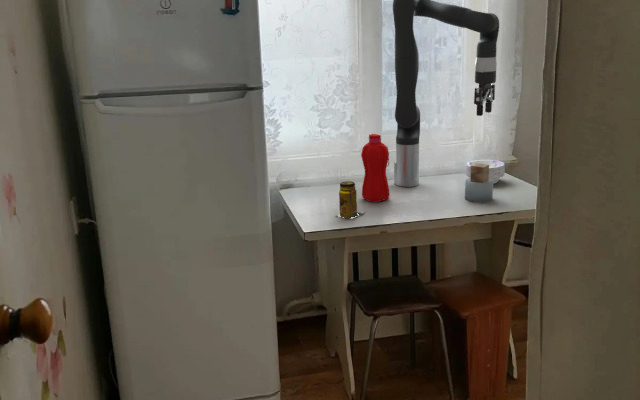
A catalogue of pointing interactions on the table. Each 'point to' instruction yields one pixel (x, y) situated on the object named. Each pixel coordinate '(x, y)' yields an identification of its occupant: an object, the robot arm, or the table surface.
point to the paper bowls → (494, 169)
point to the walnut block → (479, 173)
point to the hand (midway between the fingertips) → (484, 114)
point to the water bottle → (375, 170)
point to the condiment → (348, 200)
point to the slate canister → (478, 191)
